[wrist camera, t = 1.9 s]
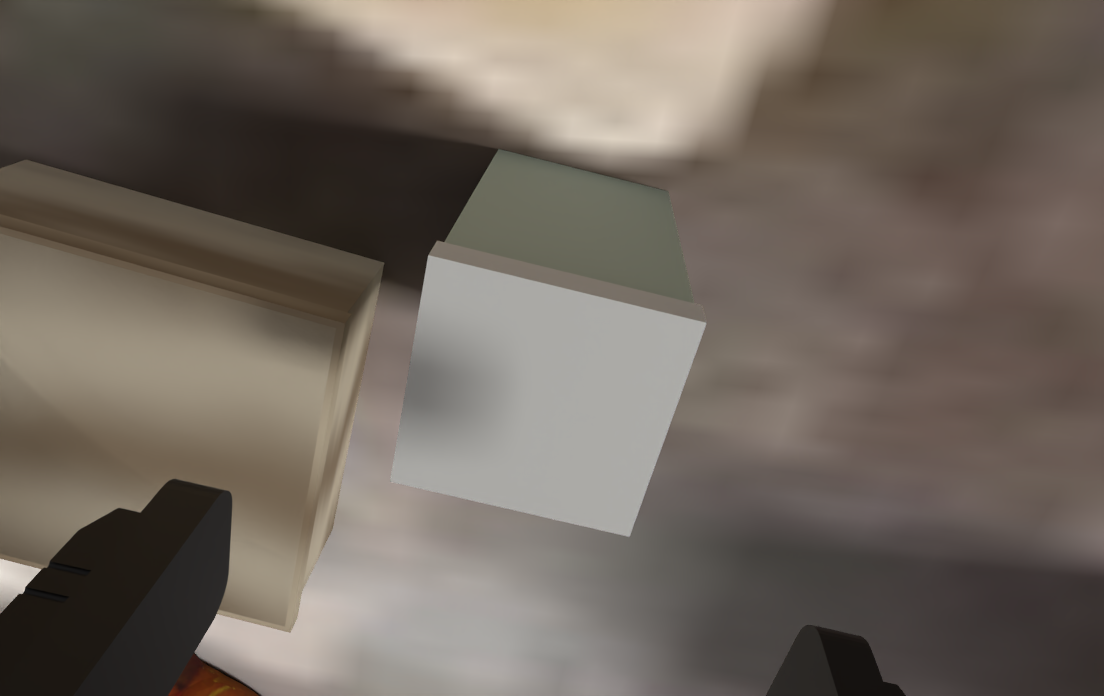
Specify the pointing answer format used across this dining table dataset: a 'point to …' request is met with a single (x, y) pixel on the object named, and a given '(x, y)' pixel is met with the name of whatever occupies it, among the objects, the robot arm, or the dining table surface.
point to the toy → (206, 682)
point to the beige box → (174, 374)
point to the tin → (549, 346)
